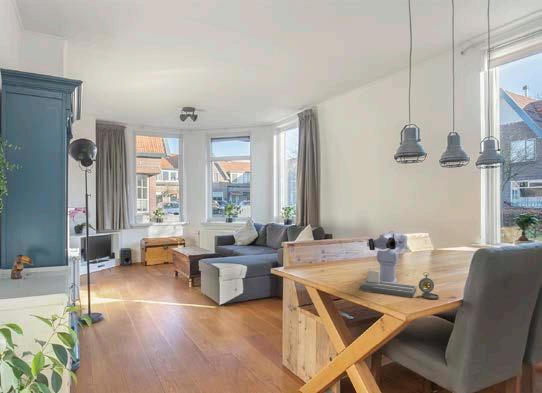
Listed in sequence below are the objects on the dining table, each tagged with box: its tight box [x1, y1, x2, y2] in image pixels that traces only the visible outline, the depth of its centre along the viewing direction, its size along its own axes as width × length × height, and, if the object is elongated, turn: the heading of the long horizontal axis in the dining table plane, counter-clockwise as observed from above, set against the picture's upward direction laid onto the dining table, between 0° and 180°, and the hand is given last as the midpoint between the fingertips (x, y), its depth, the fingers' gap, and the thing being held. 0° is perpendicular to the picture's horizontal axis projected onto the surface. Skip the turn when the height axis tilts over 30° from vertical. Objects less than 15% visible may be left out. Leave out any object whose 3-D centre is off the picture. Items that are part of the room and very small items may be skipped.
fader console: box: [359, 279, 417, 298], centre depth 158 cm, size 12×23×3 cm, turn 60°
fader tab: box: [367, 269, 380, 284], centre depth 161 cm, size 4×5×6 cm
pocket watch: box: [418, 272, 440, 300], centre depth 148 cm, size 8×8×10 cm
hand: (378, 246), depth 157 cm, fingers open, 7 cm apart
